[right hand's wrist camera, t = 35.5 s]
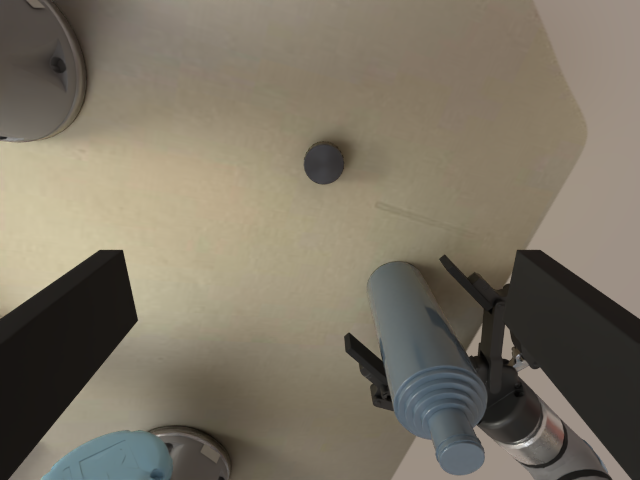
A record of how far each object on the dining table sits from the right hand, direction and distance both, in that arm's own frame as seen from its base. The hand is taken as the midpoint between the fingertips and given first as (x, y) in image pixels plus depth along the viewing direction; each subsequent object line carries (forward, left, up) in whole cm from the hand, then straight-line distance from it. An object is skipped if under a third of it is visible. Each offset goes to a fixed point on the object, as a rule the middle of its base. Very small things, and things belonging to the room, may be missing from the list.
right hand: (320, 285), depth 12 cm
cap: (0, 0, -27) cm, 27 cm away
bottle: (-3, -18, -29) cm, 34 cm away
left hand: (-3, -16, -22) cm, 27 cm away
